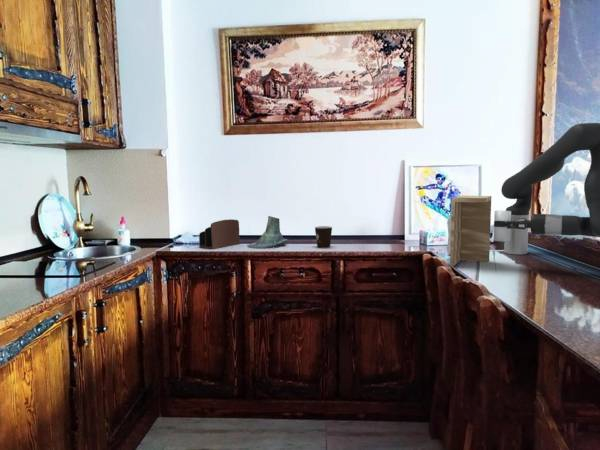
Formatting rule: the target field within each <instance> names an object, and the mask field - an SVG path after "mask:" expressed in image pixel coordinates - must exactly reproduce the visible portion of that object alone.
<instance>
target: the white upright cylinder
mask: <svg viewBox="0 0 600 450" xmlns="http://www.w3.org/2000/svg"><path fill="white" fill-rule="evenodd" d="M493 217H494V221H511V211H506V210H494V216H493ZM494 221H493V222H494ZM510 226H511V225H510ZM510 231H511V229H508V228H505V227H494V226H493V241H494V242H504V243H505V242H507V241H510Z"/></svg>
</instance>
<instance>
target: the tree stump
mask: <svg viewBox="0 0 600 450" xmlns="http://www.w3.org/2000/svg"><path fill="white" fill-rule="evenodd" d="M267 216H268V217H267V222H266V229H265V231H264V232H263V233H262V235H261V236H260V237H259V239H258V240H257V241H255V242H253V243H249V244H247V247H248V248H251V249H258V250H259V249H261V250H262V249H264V250H265V249H272V248H273V247H274V248H278V246H279V247H281V245H282V246H283V245H284V244H285V243H286V242H287V241H288V239H287V238H284V237H283V234H282V233H281V227H280V225H281V224H280V218H277V217H274V216H270V215H267ZM274 248H273V249H274Z"/></svg>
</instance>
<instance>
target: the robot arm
mask: <svg viewBox="0 0 600 450" xmlns="http://www.w3.org/2000/svg"><path fill="white" fill-rule="evenodd" d="M578 151H579V152H581V151H589V153H590V164H589V165H590V166H589V169H588V172H587V174H586V177H585V181H584V183H583V189H584V190H583V191H584V197H585V198H584V199H585V203H586V207H587V209H588V213H589V216H580V215H569V214H568V215H565V214H564V215H562V214H556V213H555V214H552V213H551V214H549V213H548V214H547V213H532V214H531V219H530V211H531V207H532V198H533V188H534V187H533V185H534V184H538V183H541V182H544V181H546V180H548V179H550V178H552V177H553V176H555V175H556V174H558V173H559V172H560V171H561V170H562V169H563V167H564V165H565V159H566V158H568V157H569V156H571V155H573V154H574V153H576V152H578ZM501 185H502V186H501V189H500V190H501V195H502V196H503V197H504V198H506V199H509V200H515V203H514V204H511V205H510V206H507V207H506V209H505V211H511V221H493V228H494V227H505V228H508V229H511V231H510V241H507V242H504V246H503V247H504V248H503V252H504V253H505V254H509V255H527V254H528V244H529V229H530V233H531V235H534V236H536V235H537V236H570V237H571V236H584V237H593V238H594V237H595V238H600V122H587V123H586V122H585V123H584V122H582V123H576V124H574V125H573V126H571V127H570V128H568V129H567V131H565V132H564V134H563V135H562V136H561V137H560V138H559V139H558V140H557V141H556V142H555V143H554V144H552V145H551V146H550V147H548V148H547V149H546V150H545V151H544V152H543V153H541V154H540V155H538V156H537V157H536V158H534V159H533V161H531V162H530V163H528V164H527V165H525V167H523V168H522V169H521V170H520V171H518V172H516V173H515V174H513V175H512V176H509V177H508V178H507V179H506V180H504V181H503V183H502V184H501ZM510 225H511V226H510Z"/></svg>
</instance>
